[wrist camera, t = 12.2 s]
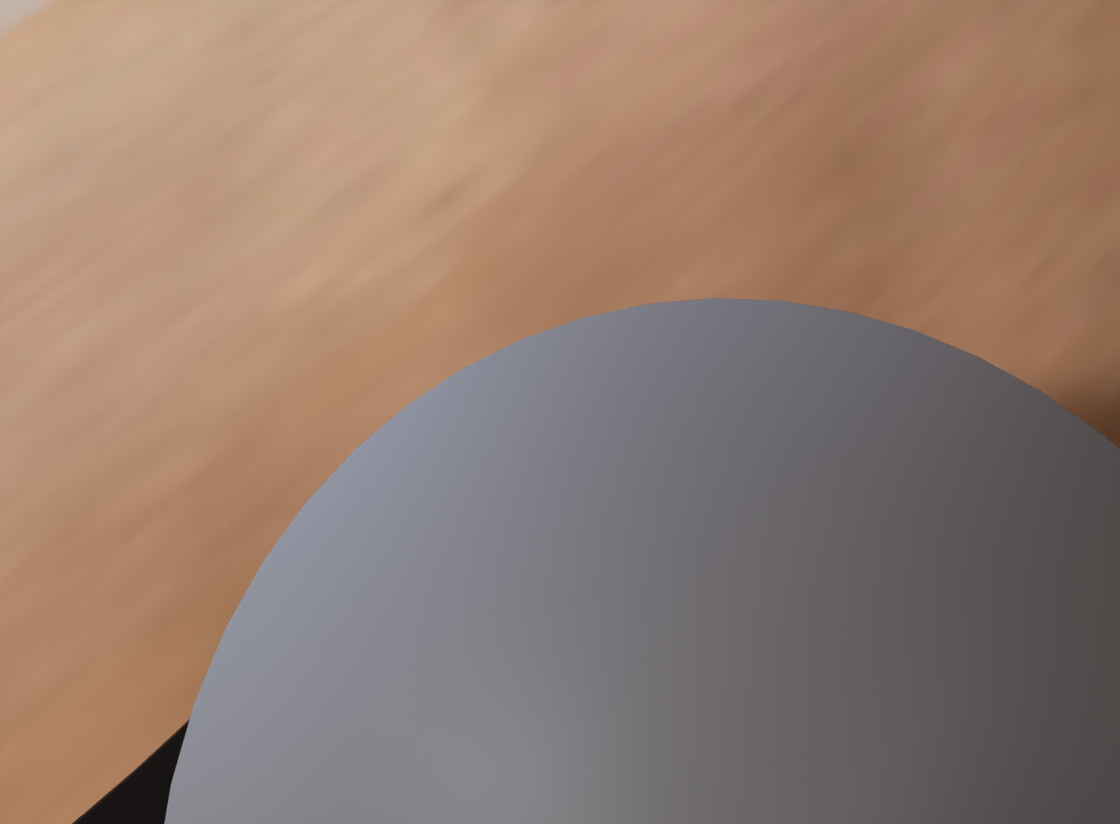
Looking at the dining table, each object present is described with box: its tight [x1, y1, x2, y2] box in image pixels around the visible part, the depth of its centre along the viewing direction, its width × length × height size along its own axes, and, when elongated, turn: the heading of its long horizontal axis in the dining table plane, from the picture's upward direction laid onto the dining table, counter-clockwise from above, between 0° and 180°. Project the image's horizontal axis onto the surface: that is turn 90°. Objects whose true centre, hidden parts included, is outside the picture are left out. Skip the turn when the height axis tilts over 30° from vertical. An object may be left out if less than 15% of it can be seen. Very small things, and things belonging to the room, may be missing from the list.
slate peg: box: [164, 298, 1120, 824], centre depth 9 cm, size 5×5×13 cm
